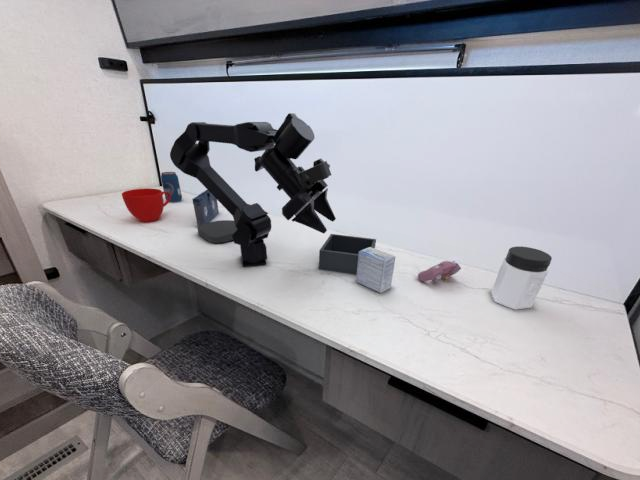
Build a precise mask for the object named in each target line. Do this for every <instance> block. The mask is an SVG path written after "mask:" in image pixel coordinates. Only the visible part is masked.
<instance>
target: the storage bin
mask: <svg viewBox="0 0 640 480" xmlns="http://www.w3.org/2000/svg"><path fill="white" fill-rule="evenodd" d="M376 242H377V238H370V237H361V236H360V237H359V236H355V235H354V236H353V235H343V234H336V233H330V235H329V236H328V237H327V239H326V240H325V242H324V243H323V245H322V246H321V248H320V249H319V251H318V252H319V253H318V254H319V255H318V270H323V271H328V272H329V271H330V272H336V273H337V272H338V273H345V274H351V275H357V266H358V256H359V251H361V250H363V249H366V248H369V247H372V248H374V249H376V244H377V243H376Z"/></svg>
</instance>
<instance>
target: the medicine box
mask: <svg viewBox="0 0 640 480" xmlns="http://www.w3.org/2000/svg"><path fill="white" fill-rule="evenodd" d="M395 262H396V256H395V255H394V254H391V253H388V252H386V251H382V250H380V249H378V248H375V249H374V248H372V247H369V248H366V249H363V250H361V251H359V256H358V266H357V274H356V278H355V282H356V283H358V284H359V285H362V286H364V287H366V288H368V289H370V290H373V291H375V292H377V293H379V294H382V293H384V292H386V291H388V290H389V289H390V288H392V282H393V276H394V270H395V265H396V264H395Z"/></svg>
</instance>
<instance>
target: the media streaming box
mask: <svg viewBox="0 0 640 480" xmlns="http://www.w3.org/2000/svg"><path fill="white" fill-rule="evenodd" d="M236 230H237V228H236V226H235V222H234V220H231V219H230V220H229V219H227V220H225V219H223V220H215V221H210V222H209V223H206V224H203V225H201V226H199V227H198V226H197V233H198V236H200V237H202V238H203V239H204V240H206V241H207V242H209V243H213V244H219V243H227V242H231V241H233V238H232V235H233V234H234V233H235V232H236Z"/></svg>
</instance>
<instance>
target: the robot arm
mask: <svg viewBox="0 0 640 480" xmlns="http://www.w3.org/2000/svg"><path fill="white" fill-rule="evenodd" d="M314 140H315V133H314V131H313V129H312V128H311V126H310V125H309V124H308V123H306V122H305V121H304V120H303V119H301V118H300V117H298V116H297V115H296V113H290V112H289V113H287V115H286V116H285V118H284V120H283V122H282V123H281V124H280V126H279V127H278V129H277V128H274V127H273V126H272V124H271V123H270V122H268V121H246V122H241V123H236V124H234V125H232V124H218V123H207V122H204V121H203V122H202V121H197V122H196V121H195V122H193V121H192V122H190V123H188V124H187V126H186V128H185V130H184V132H182V133H181V134H180V135H179V136H177V138H176V139H175V140H174V142H173V145H172V146H171V149H170V152H169V157H170V160H171V162H172V164H173V165H174V166H175V167H176V168H177V169H178V170H180V171H181V172H182V173H183V174H185V175H187V176H190V177H192V178H194V179H197V180H198V181H199V182H200V184H201V185H202V186H203V187H204V188H205V189H206V190H208V191H209V192H210V193H211V194H212V195H213V196H214V197H215V198H216V199H217V202H219V204H221V205H222V207H224V208H225V209H226V211H227V212H228V213H229V214H230V215H231V216H232V217H233V221H234V222H235V226H236V228H237V230H236V232H235V233H234V234H233V235H232V238H233V240H232V241H233V243H234V244H236V245H239V248H240V249H239V250H240V261H241V265H242V267H243V268H244V267H245V268H246V267H252V266H253V267H255V266H263V265H264V266H265V265H267V260H268V253H267V252H268V251H267V245H266V243H265V242H264V240H265V239H268V238H269V235H270V232H271V231H272V219H271V218H270V216H269V215H268V214H269V212H268V211H265V209H263V207H262V206H261V204H259V203H258V202H255V203H251V204H249V203H247V202H246V201H245V200H244V199H243V198H242V197H241V196H240V195H239V193H237V192H236V190H234V188H233V187H232V186H231V185H229V183H228V182H226V180H225V179H224V178H223V177H222V176H221V175H220V174H219V173H218V172H217V171H216V170H215V169H214V168H213V167H212V165H211V162H210V157H209V155H208V154H209V153H210V149H211V148H210V142H212V143H220V144H229V145H234V146H236V147H237V148H238V149H240V150H244V151H245V152H249V153H255V152H263V153H262V155H261V156H260V155H259V156H257V157H255V158H254V159H253V160H254V171H255V172H259V171H261V170H263V169H264V170H265V171H266V173H268V175H269V176H270V177H271V178H272V179H273V180H274V182H275V183H276V184H277V186H276V189H277V190H278V191H283V192H284V193H285V194H286V195H287V197H288V198H289V200H288V201H287V202H286V203H285V204H284V205H283V206H282V207H281V214H282V216H283V217H284V218H285V219H286V221H290V220H291V222H296V223H298V224H301V225H303V226H305V227H308V228H310V229H313V230H314V231H317V232H319V233H321V234H325V233H326V232H327V231H328V229H327V227H326V226H325V224H324V223H323V221H322V220H321V218H320V217H319V215H318V214H320V215H321V216H322V217H324V218H326V219H327V220H328V221H330V222H335V221H336V219H337V218H336V216H335V214H334V212H333V210H332V207H331V205H330V203H329V200H328V191H329V189H328V188H327V187H328V184H327V182H326V181H325V180H326V179H328V178H330V177H331V176H332V172H331V170H330V169H331V164H329V163H328V161H327V160H323V159H322V158H318V159H317V160H314V161H313V164H312V166H311V167H310V168H307V169H304V168H303V167H302V166H300V165H299V166H296V164H295V162H293V160H298V159H299V158H300V156H301V155H303V153H304V152H305V150H306V149H307V148H308V147H309V146H310V145H311V144H312V142H313V141H314ZM317 213H318V214H317Z"/></svg>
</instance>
